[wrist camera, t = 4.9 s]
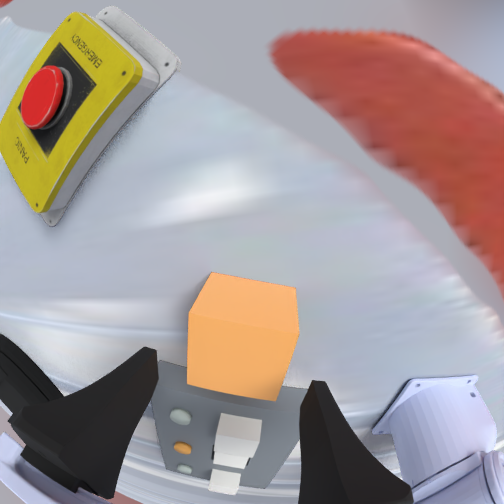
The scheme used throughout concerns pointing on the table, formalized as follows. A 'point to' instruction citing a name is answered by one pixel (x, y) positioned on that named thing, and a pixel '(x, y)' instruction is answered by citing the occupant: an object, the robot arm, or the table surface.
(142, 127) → the table surface
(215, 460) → the block
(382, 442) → the table surface
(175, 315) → the table surface
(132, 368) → the robot arm
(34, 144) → the emergency button
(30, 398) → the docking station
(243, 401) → the breaker board
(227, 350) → the orange rounded cube
